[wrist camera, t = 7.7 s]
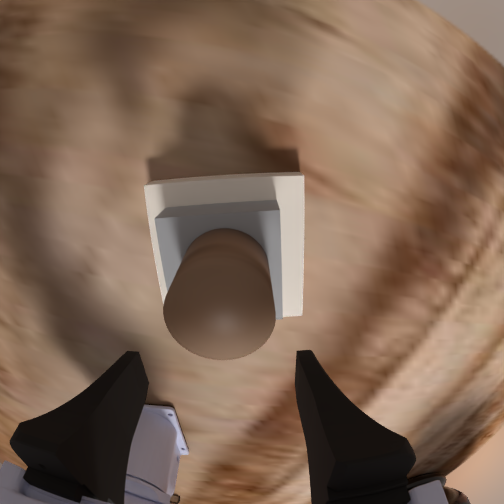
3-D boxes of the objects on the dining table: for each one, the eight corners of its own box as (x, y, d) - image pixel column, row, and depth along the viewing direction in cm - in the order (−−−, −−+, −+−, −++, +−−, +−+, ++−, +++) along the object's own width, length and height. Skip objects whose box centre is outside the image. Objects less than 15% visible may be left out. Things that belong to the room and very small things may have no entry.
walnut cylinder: (270, 303, 19) (277, 356, 15) (190, 308, 19) (175, 361, 15) (266, 224, 17) (273, 261, 13) (177, 231, 17) (152, 269, 13)
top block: (279, 299, 22) (282, 318, 20) (181, 303, 22) (173, 322, 20) (276, 199, 19) (280, 210, 17) (165, 207, 20) (154, 218, 17)
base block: (297, 298, 25) (302, 315, 23) (173, 302, 25) (166, 319, 23) (298, 170, 21) (304, 175, 19) (155, 179, 21) (143, 185, 19)
